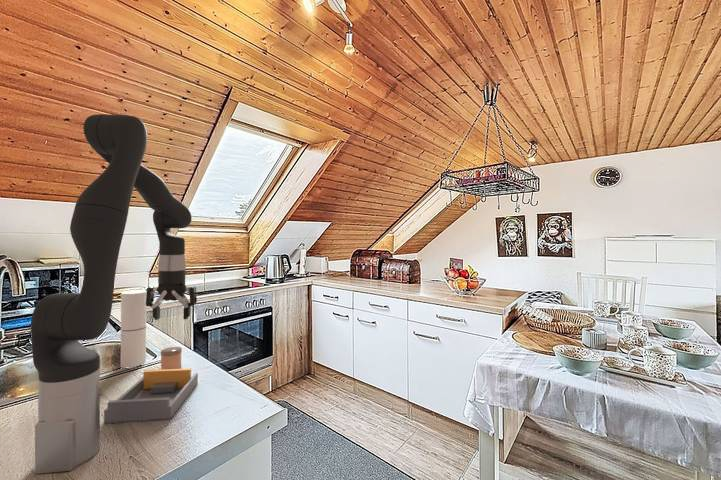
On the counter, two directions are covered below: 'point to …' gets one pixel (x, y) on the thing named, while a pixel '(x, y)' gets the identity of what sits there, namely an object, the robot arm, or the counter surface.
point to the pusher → (165, 379)
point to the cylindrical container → (133, 328)
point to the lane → (147, 403)
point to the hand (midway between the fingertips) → (171, 319)
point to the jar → (171, 358)
